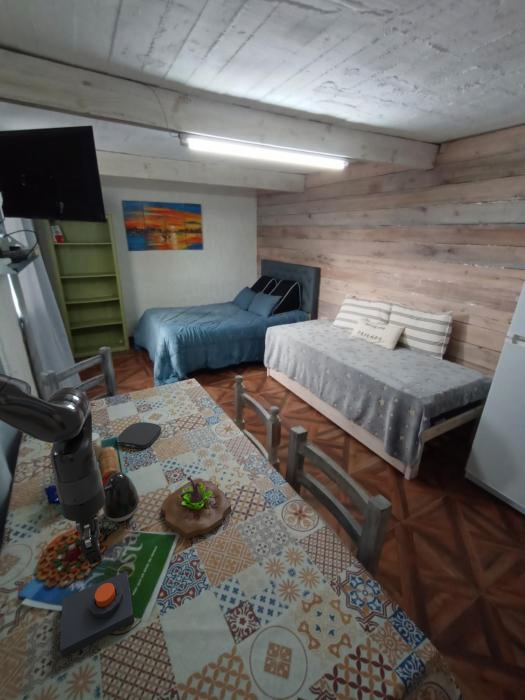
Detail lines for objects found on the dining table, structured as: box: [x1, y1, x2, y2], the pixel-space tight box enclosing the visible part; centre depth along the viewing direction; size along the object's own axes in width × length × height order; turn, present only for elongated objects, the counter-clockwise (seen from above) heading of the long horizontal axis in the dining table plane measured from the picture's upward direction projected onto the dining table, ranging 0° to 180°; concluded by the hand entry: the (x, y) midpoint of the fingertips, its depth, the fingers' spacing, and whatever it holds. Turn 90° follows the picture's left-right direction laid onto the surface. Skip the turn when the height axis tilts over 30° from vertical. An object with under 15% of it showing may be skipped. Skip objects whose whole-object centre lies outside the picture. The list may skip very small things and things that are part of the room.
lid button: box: [95, 583, 115, 607], centre depth 72 cm, size 4×4×2 cm
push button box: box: [59, 570, 136, 659], centre depth 72 cm, size 14×11×4 cm
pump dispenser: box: [102, 471, 140, 523], centre depth 96 cm, size 10×10×15 cm
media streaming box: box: [117, 421, 162, 450], centre depth 134 cm, size 15×15×3 cm
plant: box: [160, 475, 232, 540], centre depth 99 cm, size 20×20×11 cm
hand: (95, 550), depth 67 cm, fingers open, 5 cm apart
